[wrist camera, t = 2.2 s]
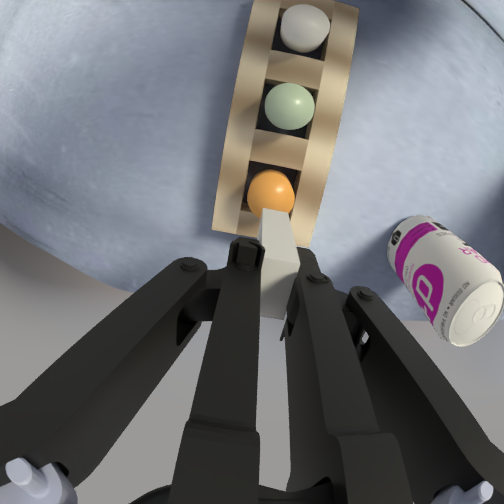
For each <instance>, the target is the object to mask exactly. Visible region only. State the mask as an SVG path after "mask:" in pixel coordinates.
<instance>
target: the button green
mask: <svg viewBox="0 0 504 504" xmlns="http://www.w3.org/2000/svg"><path fill="white" fill-rule="evenodd" d="M314 109H315V105H314V100H313V98H312V96H311V94H310V93H309V92H308V91H307V90H306V89H305V88H304V87H302V86H300V85H298V84H294V83H283V84H280V85H277V86H276V87H274V88H273V89H272V90H271V91H270V92H269V93H268V95H267V97H266V100H265V113H266V116H267V118H268V119H269V121H270V122H271V123H272V124H273V125H275V126H276V127H278V128H281V129H287V130H293V129H298V128H301V127H303V126H305V125H306V124H307V123H308V122H309V121H310V120H311V118H312V117H313V114H314Z"/></svg>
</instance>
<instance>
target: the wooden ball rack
mask: <svg viewBox="0 0 504 504" xmlns="http://www.w3.org/2000/svg"><path fill="white" fill-rule="evenodd" d="M300 4H306V5H311V6H314V7H316V8H318V9H320V10H321V11H323V12H324V13H325V14H326V16H327V17H328V19H329V22H330V30H329V33H328V34H327V36H326V37H325V39H324V43H323V48H322V54H321V59H320V60H316V59H312V58H308V57H304V56H300V55H295V54H290V53H285V52H280V51H275V50H272V46H273V42H274V37H275V32H276V27H277V23H278V18H281V19H282V17H283V14H284V13H285V11H286V10H287V9H289V8H290V7H292V6H295V5H300ZM358 16H359V8H356V7H353V6H350V5H347V4H344V3H341V2H337V1H334V0H254V2H253V6H252V10H251V15H250V19H249V23H248V27H247V32H246V36H245V41H244V45H243V50H242V54H241V59H240V64H239V69H238V74H237V78H236V83H235V89H234V94H233V99H232V104H231V110H230V115H229V121H228V126H227V132H226V138H225V144H224V149H223V156H222V162H221V168H220V174H219V181H218V187H217V194H216V201H215V208H214V215H213V222H212V230H217V231H222V232H228V233H233V234H239V235H244V236H249V237H255V238H257V235H258V230H259V225H260V220H261V218H259V217H257V216H256V215H255V214H254V213H253V212H252V211H251V209H250V208H249V205H248V203H243V197H244V191H245V186H246V180H247V175H248V169H249V164H250V160H251V161H257V162H262V163H267V164H272V165H277V166H282V167H287V168H292V169H296V170H298V171H297V176H296V180H295V184H294V189H293V191H294V196H295V200H294V205H293V207H292V209H291V211H290V212H289V213H288V215H289V219H290V223H291V227H292V231H293V235H294V239H295V243H296V245H297V246H302V247H308V248H309V245H310V241H311V238H312V234H313V230H314V227H315V223H316V219H317V216H318V212H319V208H320V204H321V200H322V196H323V192H324V188H325V184H326V180H327V176H328V172H329V168H330V164H331V160H332V155H333V151H334V147H335V142H336V138H337V133H338V129H339V124H340V119H341V114H342V110H343V105H344V100H345V94H346V89H347V84H348V79H349V73H350V67H351V62H352V56H353V50H354V43H355V37H356V30H357V23H358ZM265 83H267V84H272V85H280V84H283V83H294V84H298V85H300V86H302V87H304V88H305V89H306V90H307V91H308V92H310V93H314V95H313V100H314V105H315V109H314V114H313V117H312V118H311V120H310V121H309V122H308V125H307V129H306V134H305V139H303V138H299V137H294V136H290V135H285V134H280V133H275V132H270V131H265V130H260V129H256V127H257V121H258V116H259V111H260V106H261V101H262V96H263V91H264V86H265Z"/></svg>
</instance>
